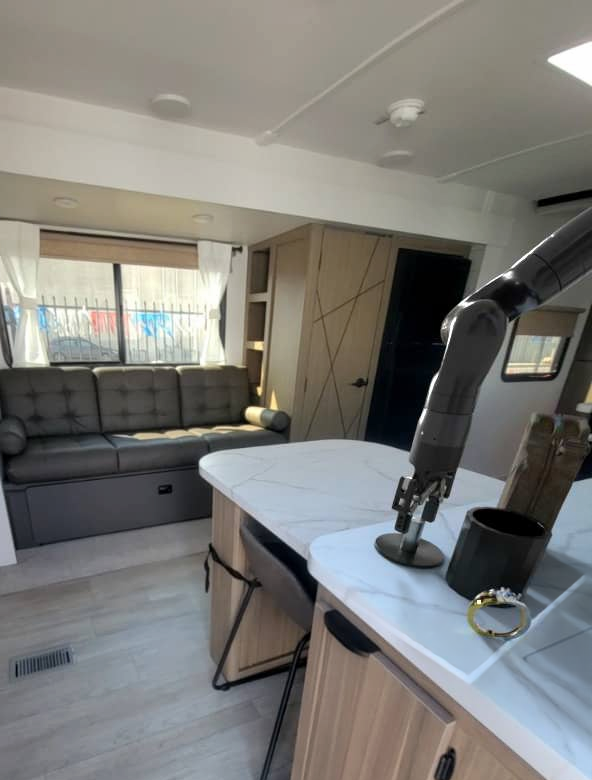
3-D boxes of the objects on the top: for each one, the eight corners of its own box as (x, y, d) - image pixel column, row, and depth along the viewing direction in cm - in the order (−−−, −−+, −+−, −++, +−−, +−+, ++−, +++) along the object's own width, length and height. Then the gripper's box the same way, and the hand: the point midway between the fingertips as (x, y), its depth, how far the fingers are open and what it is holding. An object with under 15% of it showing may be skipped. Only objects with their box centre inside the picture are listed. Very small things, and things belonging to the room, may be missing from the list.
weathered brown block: (487, 526, 86) (532, 408, 75) (536, 539, 82) (590, 415, 71) (476, 564, 73) (529, 426, 62) (534, 582, 68) (601, 437, 57)
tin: (463, 564, 73) (486, 501, 67) (531, 596, 65) (564, 527, 59) (431, 583, 67) (453, 516, 62) (501, 620, 59) (534, 546, 54)
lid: (397, 532, 83) (405, 500, 80) (454, 559, 74) (466, 524, 71) (360, 548, 77) (368, 514, 74) (419, 579, 68) (430, 542, 65)
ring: (460, 636, 56) (478, 589, 52) (459, 622, 58) (477, 576, 55) (520, 655, 53) (544, 606, 50) (517, 639, 56) (539, 592, 52)
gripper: (439, 450, 59) (411, 545, 66) (485, 438, 67) (455, 525, 74) (393, 438, 65) (372, 527, 72) (440, 428, 72) (416, 509, 79)
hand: (414, 526), depth 73 cm, fingers open, 8 cm apart
